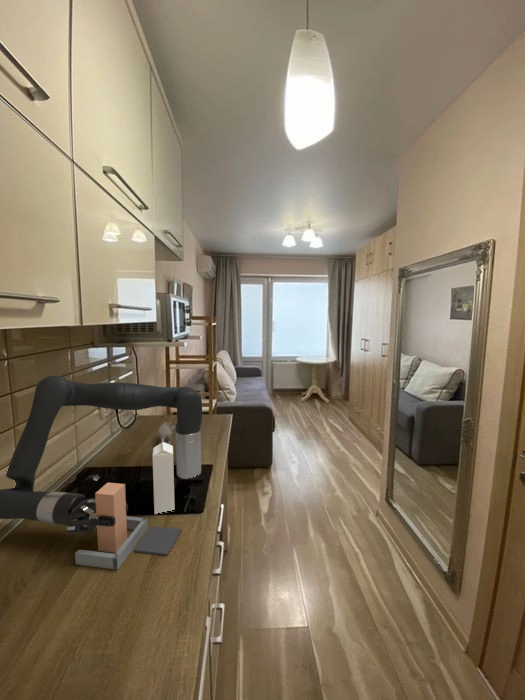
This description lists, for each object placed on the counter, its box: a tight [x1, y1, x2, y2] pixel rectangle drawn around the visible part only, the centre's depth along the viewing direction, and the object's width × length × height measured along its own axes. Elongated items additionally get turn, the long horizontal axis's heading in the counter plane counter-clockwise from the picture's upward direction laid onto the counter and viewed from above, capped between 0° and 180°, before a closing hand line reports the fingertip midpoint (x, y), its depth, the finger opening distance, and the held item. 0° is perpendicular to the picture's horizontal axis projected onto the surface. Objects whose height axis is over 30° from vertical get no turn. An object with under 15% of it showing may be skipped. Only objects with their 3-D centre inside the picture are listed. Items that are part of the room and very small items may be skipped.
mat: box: [133, 525, 182, 557], centre depth 83 cm, size 9×9×1 cm
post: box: [94, 482, 128, 554], centre depth 80 cm, size 5×5×16 cm
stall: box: [74, 515, 149, 571], centre depth 81 cm, size 14×11×3 cm
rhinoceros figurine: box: [156, 421, 176, 445], centre depth 143 cm, size 8×14×15 cm
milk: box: [152, 442, 176, 515], centre depth 96 cm, size 6×6×22 cm
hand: (120, 514), depth 80 cm, fingers closed on post, 5 cm apart
